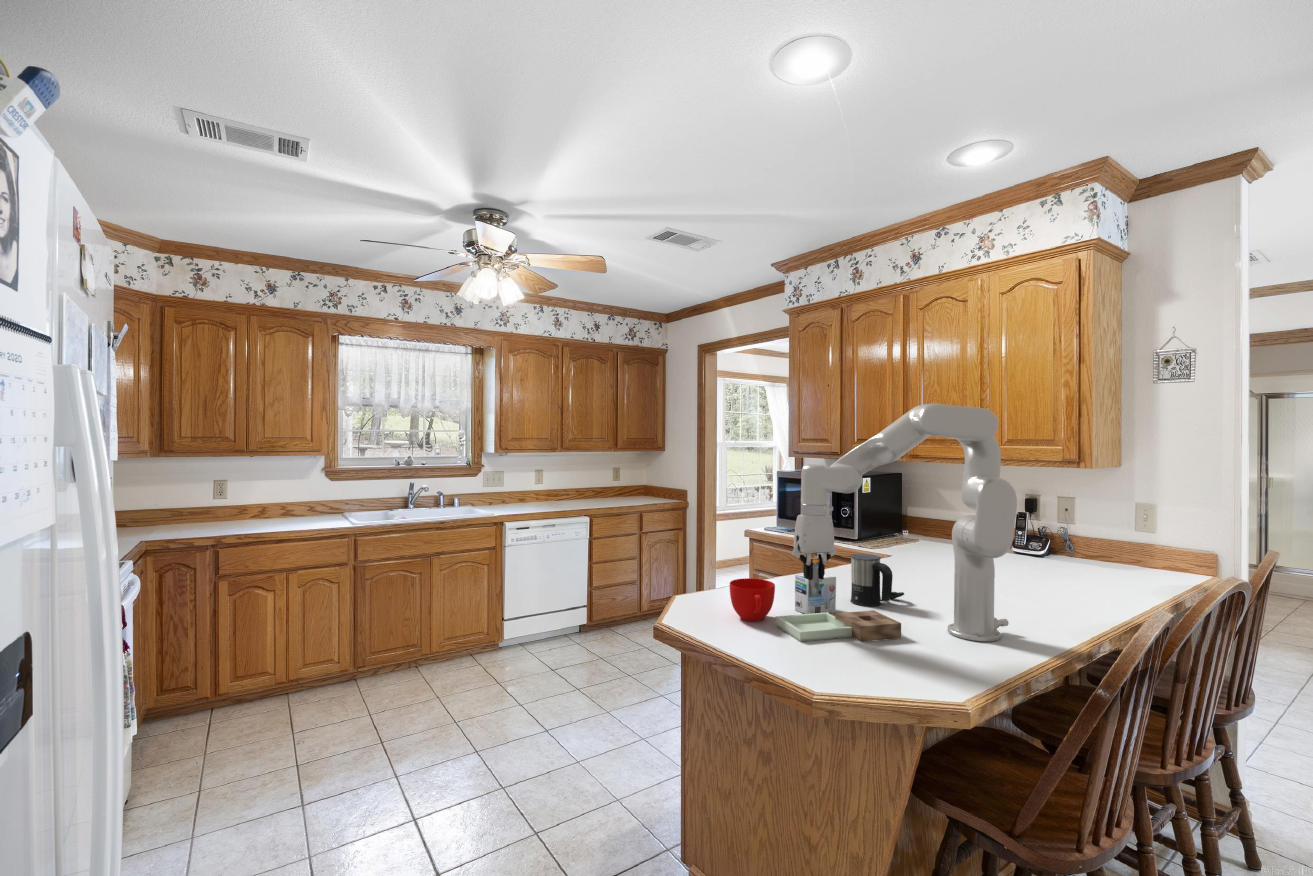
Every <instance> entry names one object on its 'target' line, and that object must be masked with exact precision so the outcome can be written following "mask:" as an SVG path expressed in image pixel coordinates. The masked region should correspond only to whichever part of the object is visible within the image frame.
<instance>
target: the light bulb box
mask: <svg viewBox="0 0 1313 876" xmlns="http://www.w3.org/2000/svg"><path fill="white" fill-rule="evenodd" d="M794 580H795V581H794V610H795V611H797V612H799V613H801V614H803V613H804V614H813V613H826V612H832V613H836V608H837V606H836V605H837V604H836V603H837V602H836V601H837V600H836V599H837V597H836V596H837V593H836V592H837V576H835V575H832V574H829V573H827V572H825V574H824V579H822V580H821V579H819V597H810V596H808V579H806V578H804V575H803V573H802V574H795V575H794Z"/></svg>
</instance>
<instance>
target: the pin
mask: <svg viewBox="0 0 1313 876" xmlns="http://www.w3.org/2000/svg"><path fill="white" fill-rule="evenodd" d="M819 564H820V559H819V558H817V557H811V565H812V580H808V596H810V597H819Z"/></svg>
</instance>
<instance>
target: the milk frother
mask: <svg viewBox="0 0 1313 876" xmlns="http://www.w3.org/2000/svg"><path fill="white" fill-rule="evenodd" d="M850 558H851V560H850V563H851V564H850V566H851V571H850V572H851V574H850V575H851V593H850V595H851V596H850V603H852V604H854V605H857V606H863V607H876V606H877V607H878V606H881V605H882V602H887V601H893V600H895V599H897V598H901V597H903V596H904V595H905V592H903V591H901V592H897V591H893V571H892V570H891V567H890V566H888V565H887V564H886V563H882V562H881V559H882V557H881V556H880V555H876V554H869V553H854V554H851V555H850ZM881 576H882V579H881ZM881 580H882V581H881ZM881 582H882V583H881Z"/></svg>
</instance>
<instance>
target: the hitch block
mask: <svg viewBox="0 0 1313 876" xmlns="http://www.w3.org/2000/svg"><path fill="white" fill-rule="evenodd" d="M834 616H835V619H837V620H838V621H839V622H840V624H841V622H842V623H843V624H845V625H848V626H847V627H849V626H850V627H852V637H853V639H854V638H855V639H854V640H856V639H857V640H856V641H858V640H859V641H868V642H873V641H872V640H879V641H884V640H883V639H890V640H898V639H897V638H900V639H902V623H901V622H900V621H897V620H895V619H893V618H891V617H890V616H887V615H886V614H885V615H884V614H882V613H880V612H879V611H876V610H874V609H873V610H871V609H870V610H861V611H860V610H859V611H849V612H848V611H846V612H834ZM839 622H838V623H839ZM836 623H837V622H836ZM836 623H835V624H836ZM838 623H837V624H838ZM837 624H836V625H837ZM845 625H843V626H845ZM837 627H838V626H837ZM841 627H842V625H841ZM852 637H851V638H852ZM859 641H858V642H859Z"/></svg>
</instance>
